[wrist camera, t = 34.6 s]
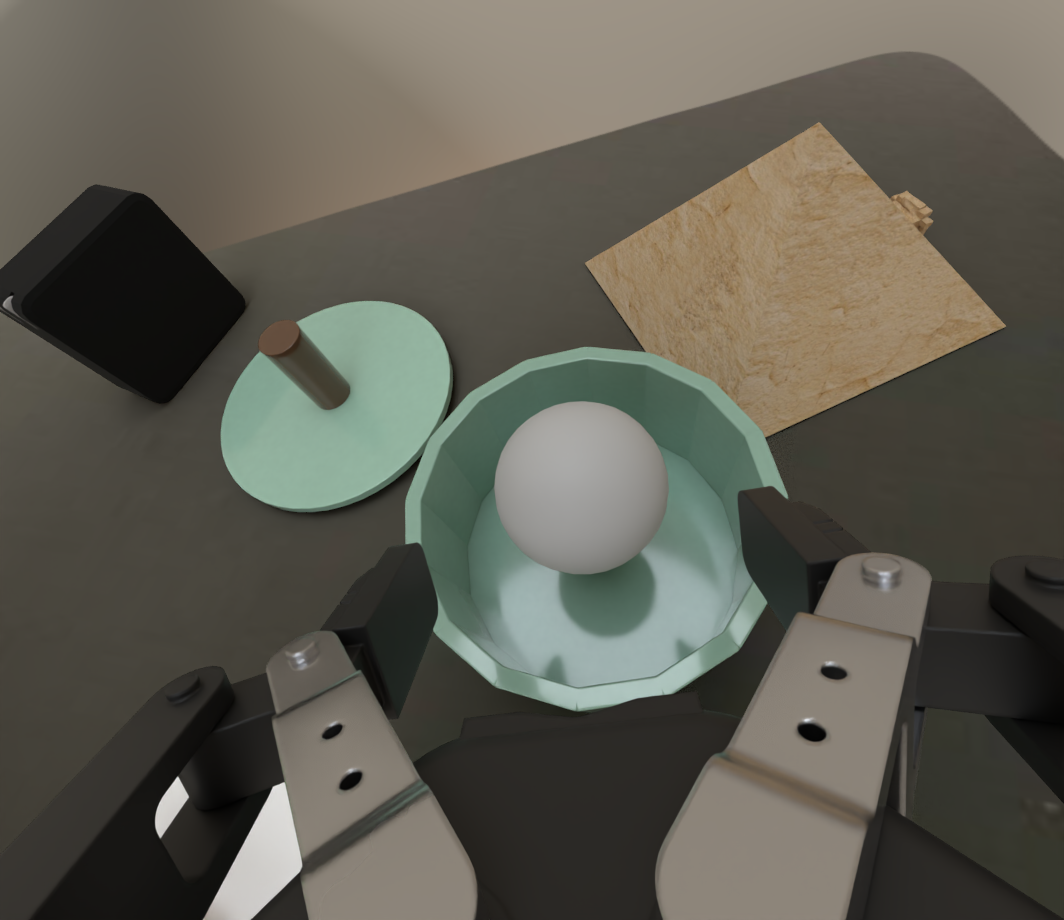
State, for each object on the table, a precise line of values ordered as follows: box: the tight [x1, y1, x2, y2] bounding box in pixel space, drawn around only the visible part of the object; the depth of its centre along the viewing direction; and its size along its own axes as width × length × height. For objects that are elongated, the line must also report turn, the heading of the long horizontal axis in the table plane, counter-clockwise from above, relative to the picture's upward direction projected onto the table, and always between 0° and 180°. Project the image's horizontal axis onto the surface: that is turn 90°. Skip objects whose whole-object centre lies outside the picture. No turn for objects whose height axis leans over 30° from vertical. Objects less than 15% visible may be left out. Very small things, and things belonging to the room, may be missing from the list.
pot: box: [405, 347, 788, 713], centre depth 23 cm, size 14×14×7 cm
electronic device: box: [0, 185, 245, 403], centre depth 34 cm, size 4×10×10 cm, turn 155°
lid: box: [221, 301, 453, 512], centre depth 30 cm, size 15×15×7 cm
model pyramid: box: [585, 122, 1006, 437], centre depth 26 cm, size 17×17×10 cm
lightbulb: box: [494, 401, 669, 574], centre depth 20 cm, size 6×6×11 cm
